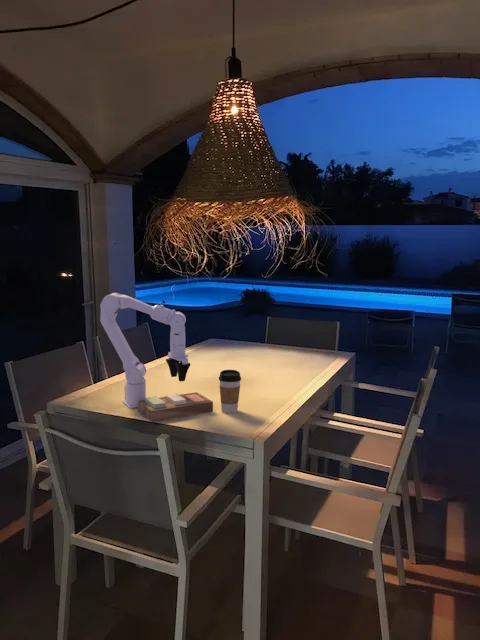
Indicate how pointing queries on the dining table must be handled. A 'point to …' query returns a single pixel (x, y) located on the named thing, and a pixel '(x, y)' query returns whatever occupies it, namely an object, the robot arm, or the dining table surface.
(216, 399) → the dining table surface
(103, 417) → the dining table surface
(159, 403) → the sage button
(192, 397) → the terracotta button
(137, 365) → the robot arm
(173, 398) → the cream button
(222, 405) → the coffee cup
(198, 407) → the button board
